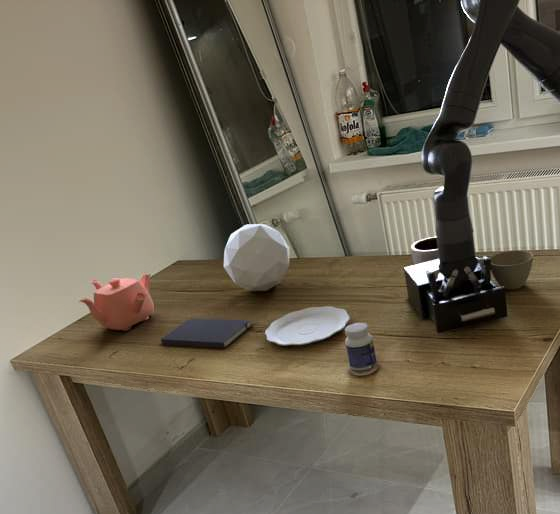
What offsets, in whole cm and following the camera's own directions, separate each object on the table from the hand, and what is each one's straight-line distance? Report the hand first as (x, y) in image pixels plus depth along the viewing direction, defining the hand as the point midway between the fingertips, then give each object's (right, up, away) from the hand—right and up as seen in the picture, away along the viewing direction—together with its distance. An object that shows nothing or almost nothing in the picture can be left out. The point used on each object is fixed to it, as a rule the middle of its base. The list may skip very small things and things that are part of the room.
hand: (462, 307), depth 152 cm
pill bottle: (-23, -14, -9) cm, 29 cm away
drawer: (+1, -3, -1) cm, 3 cm away
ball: (-46, +11, +51) cm, 69 cm away
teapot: (-86, 0, +50) cm, 100 cm away
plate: (-34, -4, +15) cm, 38 cm away
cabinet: (0, +3, +11) cm, 12 cm away
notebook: (-60, -5, +28) cm, 66 cm away
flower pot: (+15, +6, +11) cm, 20 cm away
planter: (0, +10, +26) cm, 28 cm away
